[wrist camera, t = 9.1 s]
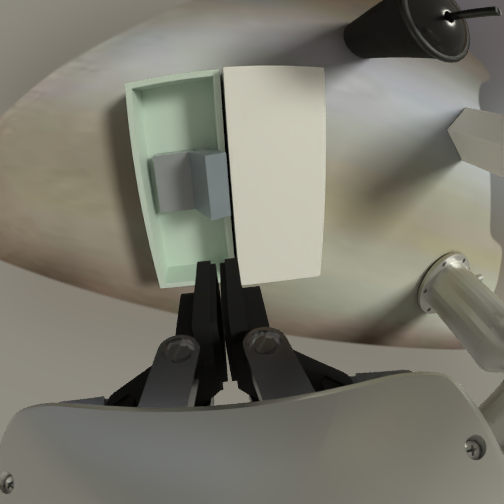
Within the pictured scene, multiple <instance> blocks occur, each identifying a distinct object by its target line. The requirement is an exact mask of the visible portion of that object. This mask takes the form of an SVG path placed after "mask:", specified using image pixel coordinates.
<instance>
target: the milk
mask: <svg viewBox="0 0 504 504" xmlns="http://www.w3.org/2000/svg"><path fill="white" fill-rule="evenodd" d="M447 131H448V133H449V135H450V137H451V139H452V141H453V143H454V145H455V147H456V149H457V151H458V153H459V155H460V158H461V160H462V161H464V162H467V163H470V164H472V165H475V166H477V167H479V168H482V169H484V170H487V171H489V172H491V173H494V174H496V175H498V176H500V177H502V178H504V115H501V114H496V113H492V112H487V111H482V110H477V109H472V108H465V109H464V110H463V111H462V113H461V114H460V115H459V116H458V117H457V118H456V120H455V121H454V122H453V123H452V124H451V125H450V127H449V128H448V129H447Z"/></svg>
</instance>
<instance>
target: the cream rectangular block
mask: <svg viewBox="0 0 504 504" xmlns="http://www.w3.org/2000/svg"><path fill="white" fill-rule="evenodd" d="M222 84H223V99H224V114H225V128H226V142H227V155H228V168H229V180H230V193H231V205H232V217H233V228H234V239H235V251H236V258H238V265H239V271H240V278H241V285H249V284H258V283H267V282H275V281H283V280H291V279H299V278H307V277H315V276H320V269H321V256H322V242H323V225H324V204H325V173H326V109H325V79H324V68H321V67H306V66H236V67H223V71H222Z"/></svg>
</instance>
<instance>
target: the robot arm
mask: <svg viewBox="0 0 504 504" xmlns="http://www.w3.org/2000/svg"><path fill="white" fill-rule="evenodd" d="M482 279H483V277H482V275H481V274H479V275H475V274H473V273H472V272H471V271H470V264H469V260H468V259H467V257H466V256H465V255H463V254H462V253H460V252H451V253H449V254H446V255H445V256H443V257H442V258H440V259H439V260H438V261H437V262H436V263H435V264H434V265H433V266H432V267H431V268H430V270H429V271H428V272H427V274H426V275H425V277H424V279H423V281H422V283H421V285H420V288H419V292H418V303H419V306H420V307H421V309H422V310H423V311H424V312H426V313H430V314H432V313H437V314H438V315H439V317H440V318H441V319H442V320H443V321H444V323H445V324H446V325H447V326H448V327H449V329H450V330H451V331H452V332H453V334H454V335H455V336H456V337H457V339H458V340H459V341H460V342H461V344H462V345H463V346H464V347H465V349H466V350H467V351H468V353H469V354H470V355H471V356H472V358H473V359H474V361H475V362H476V363H477V365H478V366H479V367H480V368H481V369H483V370H485V371H487V372H503V373H504V303H503V302H502V301H501V300H500V299H499V298H498V297H497V296H496V295H495V294H494V293H493V292H492V291H491V290H490V289H489V288H488V287H487V286H486V285H485V284H484V283H482V282H481V281H482ZM220 283H221V297H220V290H219V283H218V276H217V269H216V263H214V264H211V261H210V260H209V261H199V262H197V268H196V279H195V290H194V293H187V294H181V298H180V305H179V312H178V320H177V328H176V335H175V336H172V337H169V338H168V339H166V340H165V341H163V342H162V343H161V344H160V346H159V348H158V350H157V353H156V355H155V358H154V361H153V364H152V366H151V367H149V368H148V369H146V370H145V371H144V372H142V373H141V374H140V375H138V376H137V377H135V378H134V379H133V380H131V381H130V382H128V383H127V384H126V385H124V386H123V387H121V388H120V389H119V390H117V391H116V392H114V393H113V394H112V395H111V396H110V397H109V399H105V397H104V396H102V397H95V398H88V399H80V400H72V401H63V402H59V403H46V404H38V405H34V406H30V407H27V408H24V409H22V410H20V411H19V412H17V413H16V414H15V415H14V416H13V417H12V419H11V421H10V422H9V424H8V426H7V428H6V431H5V433H4V435H3V438H2V441H1V443H0V504H504V380H503V382H502V383H501V384H500V386H499V387H498V388H497V389H496V390H495V391H494V392H493V393H492V394H491V395H490V396H489V397H488V398H487V399H486V400H485V401H484V402H483V403H482V404H481V405H480V406H479V407H477V405H476V404H475V403H474V401H473V400H472V398H471V397H470V395H469V394H468V393H467V392H466V391H465V389H464V388H463V387H462V386H461V385H460V384H459V383H458V382H457V381H456V380H455V379H453V378H452V377H450V376H448V375H445V374H441V373H436V372H412V371H409V370H396V371H384V372H369V373H356V375H355V376H348V375H347V374H345V373H344V372H341V371H339V370H337V369H335V368H333V367H330V366H328V365H326V364H323V363H321V362H319V361H317V360H314V359H312V358H310V357H308V356H305V355H303V354H301V353H299V352H297V351H295V350H293V349H292V347H291V345H290V343H289V341H288V339H287V338H286V336H285V335H284V333H283V332H281V331H280V330H278V329H275V328H272V327H269V323H268V319H267V315H266V310H265V306H264V302H263V298H262V294H261V290H260V287H259V286H256V287H247V288H242V285H241V278H240V271H239V265H238V258H229V259H225V262H223V263H220ZM225 343H226V349H227V355H228V360H229V366H230V372H231V377H232V381H237V383H238V388H239V389H241V390H242V391H244V392H246V393H247V394H249V400H250V402H248V403H239V404H228V405H217V406H214V396H215V395H216V394H217V393H218V392H219V391H220V390H223V382H227V381H228V377H227V363H226V349H225Z"/></svg>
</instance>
